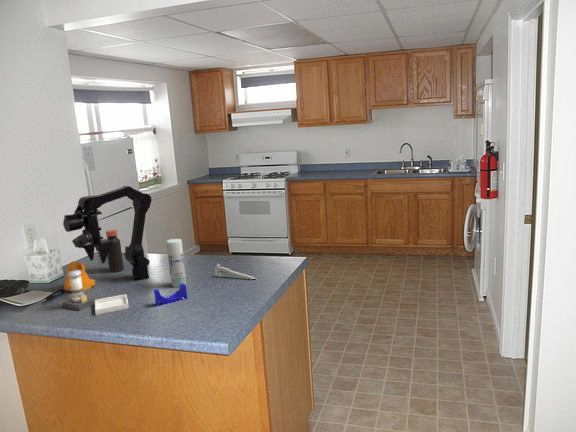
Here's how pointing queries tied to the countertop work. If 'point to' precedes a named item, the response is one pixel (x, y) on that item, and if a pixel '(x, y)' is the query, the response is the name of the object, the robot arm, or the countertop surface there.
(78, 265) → the bracket
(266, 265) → the countertop surface
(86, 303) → the fuse block
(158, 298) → the cable clip
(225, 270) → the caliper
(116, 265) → the bottle
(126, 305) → the tray
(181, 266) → the spray paint can
